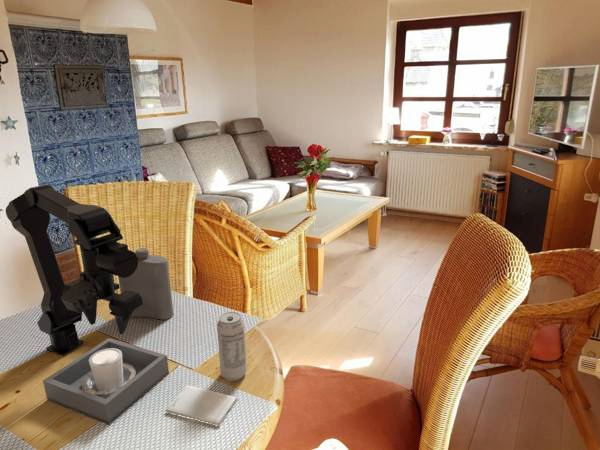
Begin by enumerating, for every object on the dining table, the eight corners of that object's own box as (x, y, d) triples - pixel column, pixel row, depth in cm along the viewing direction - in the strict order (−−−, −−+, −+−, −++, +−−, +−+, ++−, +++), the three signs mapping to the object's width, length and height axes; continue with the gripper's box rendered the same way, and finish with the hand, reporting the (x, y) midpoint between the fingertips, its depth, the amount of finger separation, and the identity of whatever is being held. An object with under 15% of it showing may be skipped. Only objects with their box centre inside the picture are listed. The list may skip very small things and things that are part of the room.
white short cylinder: (132, 378, 104) (128, 351, 102) (109, 396, 98) (104, 369, 96) (110, 370, 107) (106, 344, 105) (86, 388, 101) (81, 361, 99)
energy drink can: (246, 365, 110) (243, 309, 105) (247, 381, 104) (244, 323, 99) (221, 367, 109) (216, 311, 104) (220, 383, 103) (215, 325, 99)
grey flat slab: (165, 408, 94) (218, 422, 90) (187, 384, 102) (237, 395, 98) (166, 415, 95) (219, 429, 91) (187, 390, 102) (238, 402, 98)
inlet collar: (71, 391, 100) (70, 385, 100) (110, 363, 110) (110, 358, 109) (109, 405, 96) (108, 399, 95) (146, 375, 105) (145, 370, 105)
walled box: (47, 400, 99) (42, 380, 97) (111, 355, 114) (108, 337, 113) (109, 425, 92) (105, 404, 90) (169, 373, 107) (166, 355, 105)
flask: (177, 311, 135) (170, 247, 129) (168, 321, 130) (161, 255, 124) (131, 307, 138) (122, 244, 132) (120, 316, 132) (110, 252, 126)
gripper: (34, 271, 96) (47, 336, 101) (98, 290, 88) (108, 358, 93) (79, 253, 106) (89, 313, 111) (140, 268, 98) (148, 332, 103)
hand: (107, 328), depth 104 cm, fingers open, 9 cm apart
